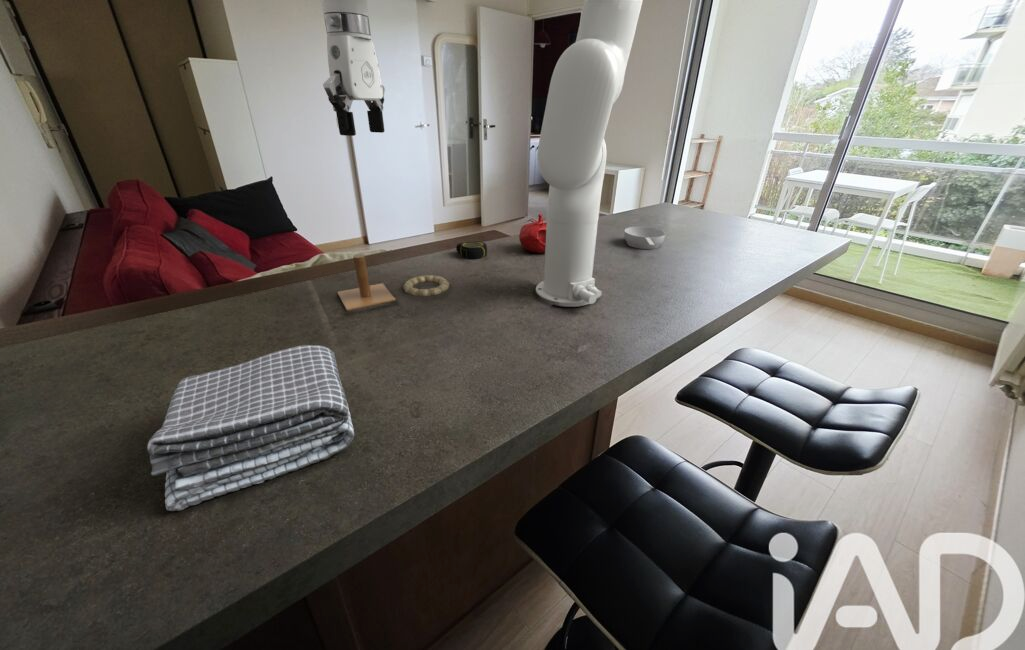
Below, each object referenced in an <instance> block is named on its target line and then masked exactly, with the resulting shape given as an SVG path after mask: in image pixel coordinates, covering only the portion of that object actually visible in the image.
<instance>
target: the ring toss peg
mask: <svg viewBox="0 0 1025 650" xmlns="http://www.w3.org/2000/svg"><path fill="white" fill-rule="evenodd" d="M352 258H353V263H354V269H355V273H356V274H355V275H356V279H357V286H358V287H356V288H351V289H345V290H340V291H337V295H338V298H339V300H340V301H341V303H342V304H343V306H344V308H345V310H346V312H349V311H353V310H358V309H362V308H367V307H372V306H376V305H382V304H387V303H390V302H396V298H395V297H394V295H393V294H392V293H391V292H390V290H389V289H388V288H387V287H386V286H385V284H384V283H383V282H382V283H376V284H371V285H370V280H369V273H368V268H367V261H366V256H365V254H363V253H362V254H361V253H358V254H354V255H353V256H352Z"/></svg>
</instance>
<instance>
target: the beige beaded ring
mask: <svg viewBox="0 0 1025 650" xmlns="http://www.w3.org/2000/svg"><path fill="white" fill-rule="evenodd" d="M424 282H433V283H437V284H439V285H438V286H436V287H431V288H417V287H414V286H415V285H417V284H419V283H424ZM449 288H450V282H449V281H448V280H447V279H446V278H445V277H443V276H438V275H433V274H432V275H431V274H430V275H426V274H425V275H419V276H413V277H412V278H410V279H408V280H406V281H405V282H404V285H403V287H402V289H403V291H404V292H405V293H406V294H408V295H411V296H415V297H431V296H435V295H440V294H442V293H444V292H446V291H447V290H449Z"/></svg>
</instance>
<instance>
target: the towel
mask: <svg viewBox="0 0 1025 650" xmlns="http://www.w3.org/2000/svg"><path fill="white" fill-rule="evenodd" d="M335 354H336V353H335V352H334V351H333V350H332V349H331V348H329V347H327V346H325V345H317V344H316V345H315V344H314V345H313V344H310V345H307V344H303V345H297V346H292V347H290V348H284V349H281V350H277V351H274V352H271V353H267V354H263V355H261V356H259V357H256V358H252V359H251V360H248V361H244V362H242V363H239V364H235V365H231V366H228V367H223V368H221V369H217V370H211V371H209V372H204V373H203V372H202V373H200V374H193V375H190V376H187V377H184V378H182V379H180V380H179V381H178V382H177V386H175V389H174V391H173V395H172V397H171V399H170V402H169V405H168V407H167V410H166V414H165V416H164V420H163V422H162V426H161V427H160V428H159V429H157V430H156V432H154V434H153V435H152V436H151V437H150V438H149V439H148V443H147V445H146V450H147V452H148V453H149V463H150V464H151V472H150V475H151V476H154V477H158V476H162V475H164V474H166V475H165V483H164V490H165V491H164V497H165V500H164V504H165V509H166V511H169V512H175V511H177V512H180V511H183V510H185V509H187V508H189V507H191V506H196V505H198V504H200V503H202V502H204V501H208V500H211V499H214V498H216V497H221V496H222V495H223V496H224V495H226V494H228V493H232V492H236V491H240V490H241V489H245V488H248V487H251V486H253V485H257V484H258V485H259V484H262V483H264V482H265V481H268V480H272V479H275V478H278V477H280V476H284V475H285V474H286V475H287V474H288V473H291V472H296V471H298V470H299V469H303V468H306V467H308V466H310V465H312V464H315V463H319V462H321V461H323V460H324V461H325V460H327V459H329V458H330V457H331V456H334V455H335V454H338V453H340V452H341V451H344V450H345V449H347V448H348V447H349V446H350V444H351V443H352V441H353V440H354V438H355V432H354V431H355V430H354V429H355V428H354V425H353V423H352V417H351V412H350V409H349V404H348V400H347V397H346V391H345V389H344V386H343V385H342V381H341V379H340V373H339V372H340V371H339V368H338V364H337V360H336V356H335Z"/></svg>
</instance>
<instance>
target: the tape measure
mask: <svg viewBox="0 0 1025 650" xmlns="http://www.w3.org/2000/svg"><path fill="white" fill-rule="evenodd" d="M455 249H456V250H455V251H456V253H457V254H458V255H459V256H461V258H463V259H466V260H479V259H483V258H485V257H487V256H488V245H487V243H486V242H483V241H477V240H474V241H473V240H472V241H465V242H459V243H457V244H456V246H455Z"/></svg>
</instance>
